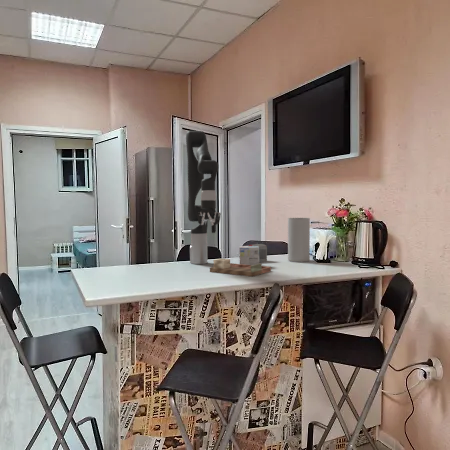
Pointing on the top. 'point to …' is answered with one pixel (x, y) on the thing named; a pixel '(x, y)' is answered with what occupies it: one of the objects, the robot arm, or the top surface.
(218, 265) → the birch block
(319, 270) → the top surface
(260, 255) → the cassette player
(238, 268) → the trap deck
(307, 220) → the cylinder vase
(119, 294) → the top surface
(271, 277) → the top surface
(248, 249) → the light bulb box
